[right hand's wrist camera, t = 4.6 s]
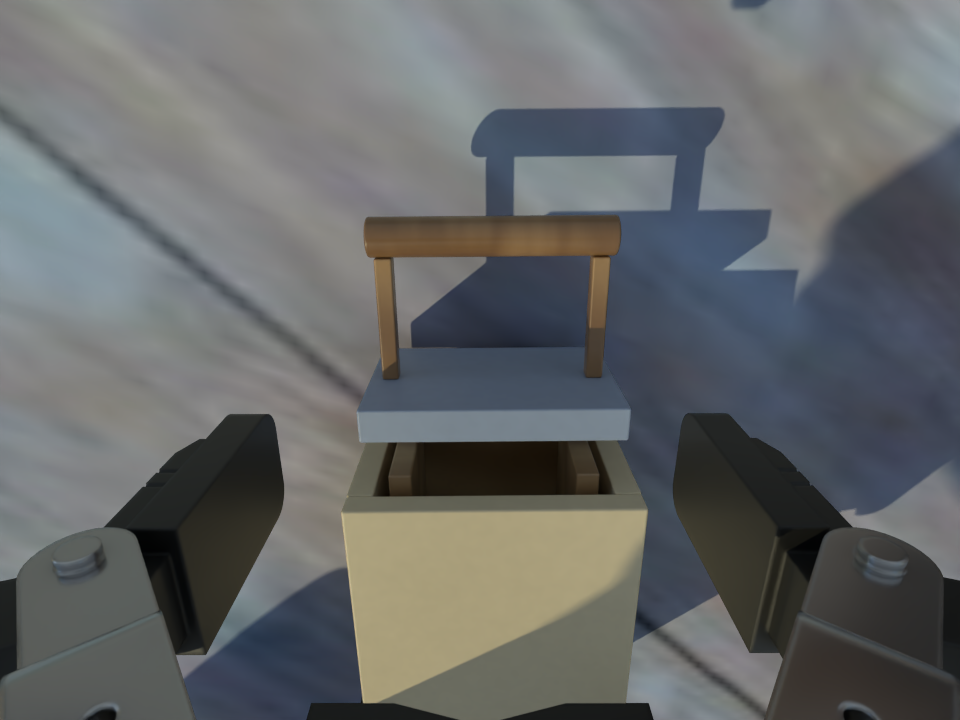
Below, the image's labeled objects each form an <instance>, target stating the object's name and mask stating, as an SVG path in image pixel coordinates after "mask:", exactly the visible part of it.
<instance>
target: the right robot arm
mask: <svg viewBox="0 0 960 720" xmlns="http://www.w3.org/2000/svg"><path fill="white" fill-rule="evenodd" d="M673 498H674V504H675V509H676V512H677V515H678V517H679V519H680V521H681V522H682V524H683V526H684V528H685V530H686V532H687V534H688V536H689V538H690V540H691V542H692V543H693V545H694V547H695V549H696V551H697V553H698V555H699V557H700V559H701V561H702V563H703V564H704V566H705V568H706V570H707V572H708V574H709V576H710V578H711V580H712V582H713V584H714V586H715V587H716V589H717V591H718V593H719V595H720V597H721V599H722V601H723V603H724V605H725V607H726V608H727V610H728V612H729V614H730V616H731V618H732V620H733V622H734V624H735V626H736V628H737V629H738V631H739V633H740V635H741V637H742V639H743V641H744V643H745V645H746V647H747V649H748V650H749V652H750V653H780V655H781V656H782V658H783V661H782V664H781V667H780V670H779V673H778V677H777V680H776V683H775V686H774V689H773V692H772V696H771V699H770V702H769V705H768V708H767V711H766V715H765V718H764V720H960V581H959V580H954V579H949V578H944V577H943V575H942V573H941V571H940V569H939V568H938V567H937V565H936V564H935V563H934V562H933V561H932V560H931V559H930V558H929V557H927V556H926V555H925V554H924V553H922V552H921V551H920V550H918V549H916V548H915V547H913V546H912V545H910V544H908V543H906V542H904V541H902V540H900V539H897V538H895V537H893V536H890V535H887V534H885V533H881V532H878V531H874V530H869V529H864V528H855V527H852V526H851V525H850V524H849V523H848V522H847V521H846V520H845V519H844V518H843V517H842V516H841V514H840V513H839V512H838V511H837V510H836V509H835V508H834V507H833V506H832V505H831V504H830V503H829V502H828V501H827V500H826V499H825V498H824V497H823V496H822V495H821V494H820V492H819V491H818V490H817V489H816V488H815V487H814V486H810V484H809V481H808V480H807V479H806V478H805V477H804V476H803V475H802V474H801V473H800V472H797V471H796V467H795V466H794V465H793V464H792V463H791V462H790V461H789V460H788V459H787V458H786V457H785V456H784V455H783V454H782V453H781V452H780V451H778V450H776V449H775V448H773V447H771V446H769V445H768V444H766V443H764V442H762V441H761V440H759V439H757V438H750V437H749V436H748V435H747V434H746V433H745V432H744V430H743V429H742V428H741V427H740V426H739V425H738V424H737V423H736V422H735V420H734V419H733V418H732V417H731V416H730V415H729V414H727V413H688V414H686V415H685V417H684V419H683V421H682V425H681V432H680V439H679V446H678V453H677V460H676V467H675V474H674V481H673ZM283 500H284V481H283V474H282V468H281V461H280V454H279V447H278V440H277V433H276V427H275V422H274V420H273V418H272V416H271V415H269V414H230V415H228V416H227V417H225V419H224V420H223V421H222V422H221V423H220V424H219V425H218V426H217V427H216V428H215V430H214V431H213V432H212V433H211V434H210V435H209V436H208V437H207V438H206V439H199V440H197V441H196V442H194V443H192V444H190V445H189V446H187V447H185V448H183V449H182V450H180V451H178V452H177V453H175V454H174V455H173V456H172V457H171V458H170V459H169V460H168V461H167V462H166V463H165V464H164V465H163V466H162V468H161V469H160V472H159V473H156V474H155V475H154V476H153V477H152V478H151V479H150V480H149V481H148V482H147V483H146V487H142V488H141V489H140V490H139V491H138V492H137V493H136V494H135V496H134V497H133V498H132V499H131V500H130V501H129V502H128V503H127V504H126V505H125V506H124V507H123V508H122V509H121V510H120V511H119V512H118V513H117V514H116V515H115V516H114V517H113V518H112V519H111V520H110V521H109V522H108V524H107V525H106V526H105V527H104V528H96V529H91V530H86V531H82V532H79V533H75V534H73V535H70V536H67V537H65V538H63V539H60V540H58V541H56V542H54V543H52V544H50V545H48V546H47V547H45V548H44V549H42V550H40V551H39V552H38V553H36V554H35V555H34V556H33V557H31V558H30V559H29V560H28V561H27V562H26V563H25V564H24V565H23V567H22V568H21V569H20V571H19V573H18V575H17V578H14V579H10V580H5V581H0V720H196V718H195V715H194V711H193V708H192V705H191V702H190V699H189V696H188V692H187V689H186V686H185V683H184V680H183V677H182V673H181V670H180V667H179V664H178V661H177V658H176V655H206V654H207V652H208V650H209V648H210V646H211V644H212V642H213V640H214V639H215V637H216V635H217V633H218V631H219V629H220V627H221V625H222V623H223V622H224V620H225V618H226V616H227V614H228V612H229V610H230V608H231V607H232V605H233V603H234V601H235V599H236V597H237V595H238V593H239V591H240V590H241V588H242V586H243V584H244V582H245V580H246V578H247V576H248V574H249V573H250V571H251V569H252V567H253V565H254V563H255V561H256V559H257V557H258V556H259V554H260V552H261V550H262V548H263V546H264V544H265V542H266V540H267V539H268V537H269V535H270V533H271V531H272V529H273V527H274V525H275V523H276V522H277V520H278V518H279V516H280V513H281V510H282V506H283ZM307 720H458V719H454V718H450V717H446V716H442V715H439V714H435V713H431V712H427V711H423V710H419V709H415V708H411V707H407V706H403V705H399V704H396V703H311V706H310V710H309V713H308V716H307ZM502 720H653V716H652V713H651V710H650V706H649V703H564V704H561V705H557V706H553V707H549V708H545V709H541V710H537V711H533V712H529V713H525V714H521V715H518V716H514V717H510V718H506V719H502Z"/></svg>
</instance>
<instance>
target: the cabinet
mask: <svg viewBox="0 0 960 720" xmlns="http://www.w3.org/2000/svg"><path fill="white" fill-rule="evenodd" d="M588 444H589V447H590V450H591V453H592V455H593V458H594V461H595V464H596V466H597V469H598V472H599V487H598V495H505V496H393V497H390V492H389V479H388V476H389V472H390V468H391V465H392V461H393V457H394V453H395V449H396V446H397V442H380V443H366V445H365V448H364V450H363V453H362V456H361V459H360V461H359V464H358V467H357V470H356V472H355V475H354V478H353V481H352V483H351V486H350V489H349V492H348V494H347V498H346V501H345V504H344V506H343V509H342V512H341V516H342V524H343V533H344V542H345V550H346V559H347V568H348V576H349V585H350V594H351V603H352V611H353V620H354V629H355V637H356V646H357V655H358V663H359V672H360V681H361V689H362V698H363V703H396V704H399V705H403V706H407V707H411V708H415V709H419V710H423V711H427V712H431V713H435V714H439V715H442V716H446V717H450V718H454V719H458V720H502V719H506V718H510V717H514V716H518V715H521V714H525V713H529V712H533V711H537V710H541V709H545V708H549V707H553V706H557V705H561V704H564V703H626V696H627V687H628V679H629V670H630V662H631V653H632V645H633V636H634V628H635V619H636V611H637V602H638V594H639V585H640V577H641V568H642V560H643V551H644V543H645V534H646V526H647V517H648V508H647V506H646V504H645V501H644V499H643V497H642V495H641V492H640V489H639V487H638V485H637V483H636V481H635V478H634V476H633V474H632V472H631V470H630V468H629V465H628V463H627V461H626V459H625V457H624V454H623V452H622V450H621V448H620V446H619V444H618V441H617V440H604V441H588Z"/></svg>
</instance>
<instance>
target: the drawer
mask: <svg viewBox="0 0 960 720" xmlns="http://www.w3.org/2000/svg"><path fill="white" fill-rule="evenodd" d="M620 242H621V223H620V219H619V217H618V216H617V215H534V216H421V217H367V218H366V219H365V223H364V245H365V250H366V254H367V256H368V257H370V258H375V259H374V271H375V284H376V298H377V311H378V324H379V337H380V350H381V358H380V360H379V362H378V364H377V367H376V369H375V371H374V373H373V376H372V378H371V380H370V383H369V385H368V387H367V389H366V392H365V394H364V396H363V398H362V401H361V403H360V405H359V408H358V410H357V422H358V432H359V441H360V442H361V443H380V442H397V446H396V449H395V453H394V457H393V461H392V465H391V468H390V472H389V476H388V479H389V492H390V497H393V496H505V495H598V487H599V472H598V469H597V466H596V464H595V461H594V458H593V455H592V453H591V450H590V447H589V444H588V441H604V440H628V439H629V431H630V421H631V407H630V406H629V404H628V402H627V400H626V398H625V397H624V395H623V393H622V391H621V390H620V388H619V386H618V384H617V382H616V381H615V379H614V377H613V375H612V374H611V372H610V370H609V368H608V366H607V365H606V363H605V361H604V359H603V355H604V342H605V329H606V315H607V302H608V288H609V275H610V262H611V258H610V257H609V256H614V255H616V254H617V253H618V250H619V247H620ZM503 256H591V257H590V273H589V289H588V305H587V321H586V337H585V347H527V348H414V349H399V340H398V324H397V308H396V292H395V277H394V261H393V257H503Z"/></svg>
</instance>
